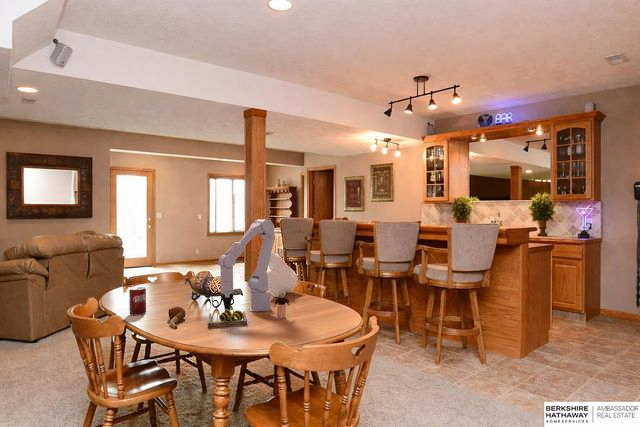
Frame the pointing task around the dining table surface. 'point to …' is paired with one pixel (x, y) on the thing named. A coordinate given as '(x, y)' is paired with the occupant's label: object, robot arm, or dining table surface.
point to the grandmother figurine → (281, 305)
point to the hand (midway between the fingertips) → (227, 310)
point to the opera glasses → (231, 315)
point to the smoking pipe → (176, 315)
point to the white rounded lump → (280, 275)
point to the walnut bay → (227, 322)
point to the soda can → (137, 301)
